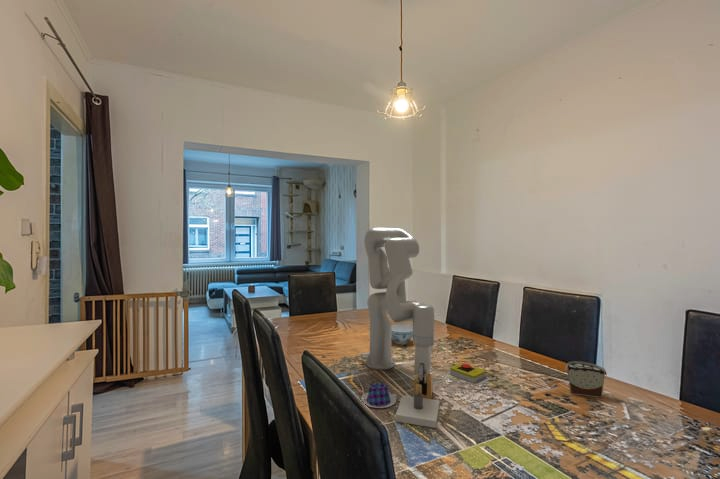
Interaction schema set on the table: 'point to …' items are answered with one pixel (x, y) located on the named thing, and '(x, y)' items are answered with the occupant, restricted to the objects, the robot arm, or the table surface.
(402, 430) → the table surface
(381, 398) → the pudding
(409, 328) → the chinaware
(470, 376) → the emergency button
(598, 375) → the food container
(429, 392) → the tan wooden cube
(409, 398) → the board
